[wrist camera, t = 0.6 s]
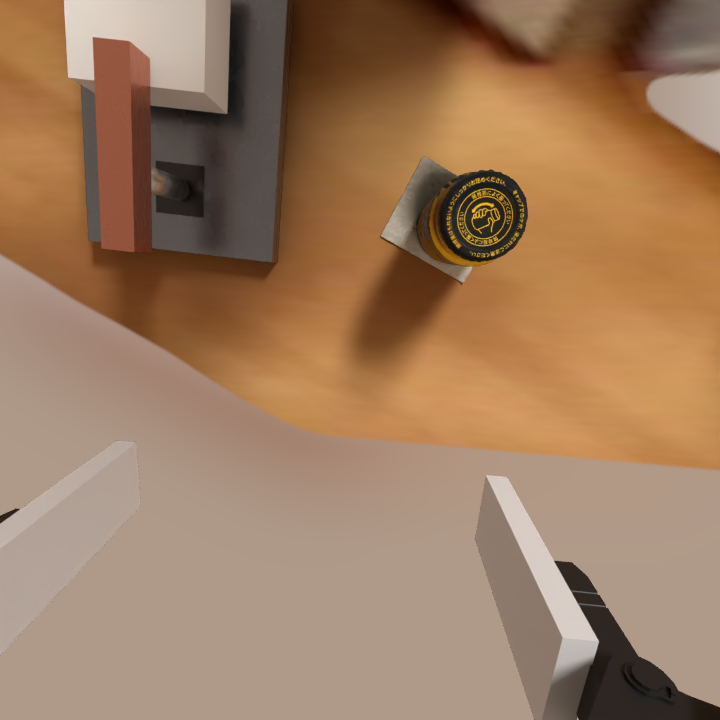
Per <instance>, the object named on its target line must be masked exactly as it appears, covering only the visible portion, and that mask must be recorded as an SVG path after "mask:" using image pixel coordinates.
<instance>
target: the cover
mask: <svg viewBox="0 0 720 720" xmlns="http://www.w3.org/2000/svg"><path fill="white" fill-rule="evenodd" d="M230 6H231V0H64V10H65V28H66V46H67V64H68V78H70V79H72V80H73V81H75V82H77V83H79V84H80V85H82V86H84V87H86V88H87V89H89V90H91V91H93V92H94V93H95V83H94V59H93V37H97V38H106V39H115V40H125V41H130V42H131V43H132V44H134V45H135V46H136V47H137V48H138V49H139V50H141V51H142V52H143V53H144V54H145V55H146V56H148V57H149V58H150V105H151V106H159V107H168V108H177V109H186V110H195V111H204V112H213V113H222V114H227V108H228V74H229V40H230Z"/></svg>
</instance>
